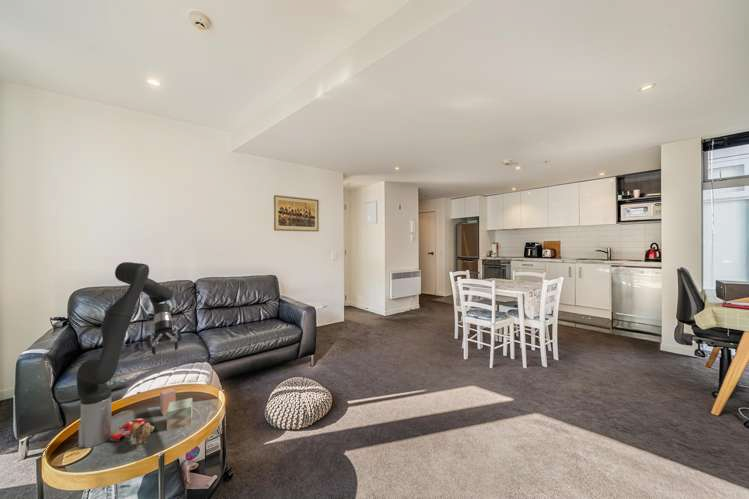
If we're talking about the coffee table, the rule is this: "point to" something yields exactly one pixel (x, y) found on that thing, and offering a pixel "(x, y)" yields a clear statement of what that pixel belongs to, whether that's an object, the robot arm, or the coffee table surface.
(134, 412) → the coffee table surface
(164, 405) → the terracotta brick
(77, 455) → the coffee table surface
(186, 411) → the sage green base block
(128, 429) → the race car
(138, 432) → the lion figurine
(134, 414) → the coffee table surface
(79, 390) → the robot arm
